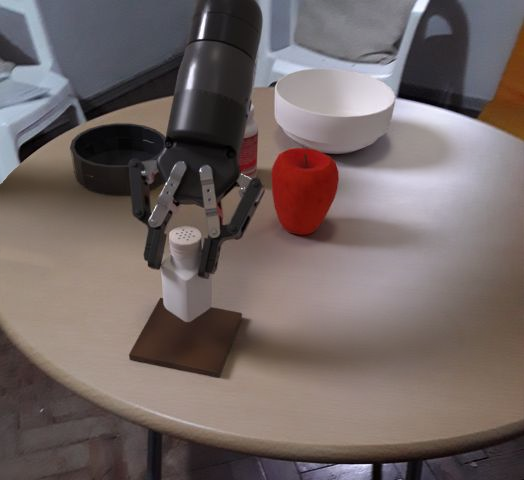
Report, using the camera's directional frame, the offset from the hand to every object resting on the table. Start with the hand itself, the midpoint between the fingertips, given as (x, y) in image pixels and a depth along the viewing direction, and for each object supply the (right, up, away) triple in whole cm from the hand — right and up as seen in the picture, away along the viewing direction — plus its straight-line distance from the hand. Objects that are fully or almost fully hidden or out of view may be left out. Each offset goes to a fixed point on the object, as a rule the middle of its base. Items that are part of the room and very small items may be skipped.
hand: (178, 272), depth 62 cm
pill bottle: (+4, +19, +35) cm, 40 cm away
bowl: (+20, +28, +46) cm, 57 cm away
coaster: (0, -6, +9) cm, 11 cm away
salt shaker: (0, -3, +6) cm, 7 cm away
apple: (+14, +9, +26) cm, 31 cm away
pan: (-13, +20, +35) cm, 42 cm away
